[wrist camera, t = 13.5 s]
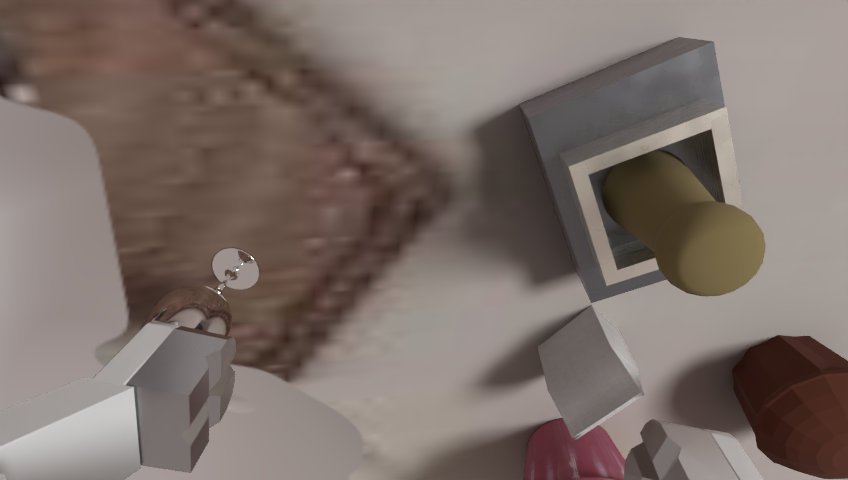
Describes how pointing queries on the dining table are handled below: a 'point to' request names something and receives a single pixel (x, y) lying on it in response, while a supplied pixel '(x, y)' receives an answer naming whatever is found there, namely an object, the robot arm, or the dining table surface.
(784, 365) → the muffin
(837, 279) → the dining table surface
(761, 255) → the cork
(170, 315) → the wineglass
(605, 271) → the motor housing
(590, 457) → the plant pot
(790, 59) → the dining table surface
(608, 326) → the white box
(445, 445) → the dining table surface
